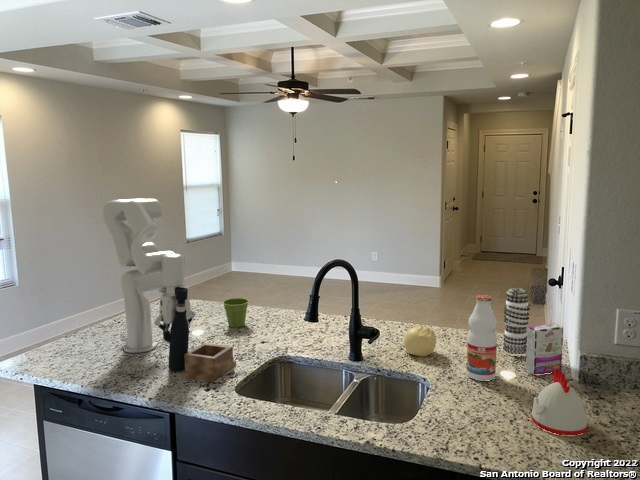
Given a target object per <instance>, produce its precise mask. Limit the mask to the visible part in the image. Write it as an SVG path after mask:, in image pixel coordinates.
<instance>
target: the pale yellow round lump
mask: <svg viewBox="0 0 640 480" xmlns="http://www.w3.org/2000/svg"><path fill="white" fill-rule="evenodd" d="M436 339H437V337H436V334H435V330H433V329H432V328H430V327H427V326H424V325H421V324H420V325H419V326H414V327H412V328H410V329H408V330H407V332H406V333H405V335H404V338H403V345H404V348H405V351H406V352H407V353H408V354H409V355H413V356H418V357H427V355H428V356H429V355H430V354H432V353H434V350H435V348H436V344H437V340H436Z"/></svg>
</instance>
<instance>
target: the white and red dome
mask: <svg viewBox="0 0 640 480" xmlns="http://www.w3.org/2000/svg"><path fill="white" fill-rule="evenodd" d="M552 373H553V374H552V379H553V383H550V384H548V385H547V386H545V387H544V388H543V389H542V390H541V392H539V394H538V396H534V398H533V402H532V403H533V405H532V409H531V410H532V411H531V421H532V420H533V422H534V423H536V425H538V426H539V427H541V428H543V429H545V430H547V431H550V432H552V433H556V434H559V435H578V434H581V433H584V432H585V431H586V430H588V419H587V415H586V412H587V404H586V403H583V402H582V399H581V397H580V396H579V395H578V393H577V392H576V390H575V389H573V388H572V387H571V386H570V385H569V384H568V382H569V380H568V379H566V374H565V373H563V370H561V371H559V369H555V371H552ZM533 422H532V423H533ZM586 432H587V431H586ZM586 432H585V433H586ZM585 433H584V434H585Z"/></svg>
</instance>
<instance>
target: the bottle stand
mask: <svg viewBox="0 0 640 480" xmlns="http://www.w3.org/2000/svg"><path fill="white" fill-rule="evenodd" d="M233 348H234V347H233V346H229V345H221V344H216V343H215V344H213V343H207V342H203V343H201V344H199V345H198V346H196V347H195V348H193V349H191V350H190V351H189V350H188V353H186V354H184V359H185V370H183V371H182V372H181V378H184V379H190V380H196V381H202V382H207V383H208V382H209V383H213V382H215V381H217V379H218V378H220V377H222V376H223V375H224V374H226V373H227V372H228V371H230V370H231V369H233V368H234V367H235V366H236V365H237V361H236V360H234V352H233V350H234V349H233Z"/></svg>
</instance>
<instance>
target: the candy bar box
mask: <svg viewBox="0 0 640 480" xmlns="http://www.w3.org/2000/svg"><path fill="white" fill-rule="evenodd" d="M526 331H527V339H526V340H527V343H526V345H527V348H526V349H527V351H526V356H525V371H526V370H528V371H530V372H531V373H533V374H544V373H551V372H552V371H555V369H559V371H562V366H563V365H562V363H563V361H562V360H563V341H564V327H563V326H561V325H559V324H556V323H547V324H546V323H545V324H539V325H532V326H531V325H530V326H529V325H528V326H527V330H526Z"/></svg>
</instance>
